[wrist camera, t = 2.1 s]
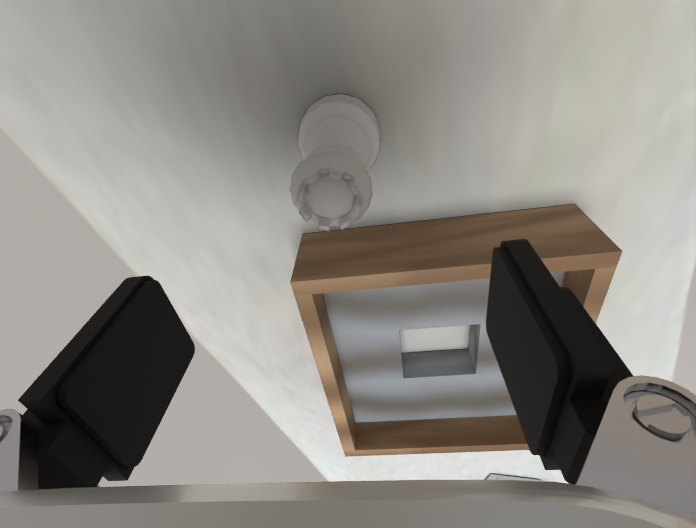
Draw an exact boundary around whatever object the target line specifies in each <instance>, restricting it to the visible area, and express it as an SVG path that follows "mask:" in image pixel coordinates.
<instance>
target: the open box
mask: <svg viewBox="0 0 696 528" xmlns="http://www.w3.org/2000/svg"><path fill="white" fill-rule="evenodd" d="M517 239H527V240H528V241H529V243H530V244H531V246H532V247H533V248H534V250H535V251H536V253H537V254H538V256H539V257H540V259H541V260H542V262H543V263H544V264H545V266H546V267H547V269H548V270H549V272H550V273H551V275H552V276H553V278H554V279H555V280H556V282H557V283H558V285H559V286H560V287H567V288H569V289H570V290H571V291H572V292H573V293H574V294H575V296H576V297H577V299H578V300H579V301H580V303H581V304H582V305H583V307H584V308H585V310H586V311H587V312H588V314H589V315H590V317H591V318H592V319H593V321H594V322H595V324H596V321H597V318H598V315H599V313H600V310H601V307H602V305H603V302H604V299H605V296H606V294H607V291H608V288H609V286H610V283H611V280H612V278H613V275H614V272H615V269H616V267H617V264H618V261H619V259H620V256H621V253H622V250H621V249H620V248H619V247H618V246H617V245H616V244H615V243H614V242H613V241H612V240H611V239H610V238H609V237H608V236H607V235H606V234H605V233H604V232H603V231H602V230H601V229H600V228H599V227H598V226H597V225H596V224H595V223H594V222H593V221H592V220H591V219H590V218H589V217H588V216H587V215H586V214H585V213H584V212H583V211H582V210H581V209H580V208H579V207H578V206H577V205H576V204H571V205H562V206H553V207H544V208H535V209H526V210H517V211H507V212H498V213H489V214H480V215H471V216H462V217H453V218H444V219H434V220H425V221H416V222H407V223H398V224H389V225H380V226H371V227H362V228H352V229H343V230H334V231H325V232H316V233H307V234H302V238H301V242H300V246H299V250H298V254H297V258H296V262H295V266H294V270H293V274H292V278H291V282H290V283H291V286H292V289H293V292H294V296H295V299H296V302H297V305H298V308H299V311H300V315H301V318H302V321H303V324H304V327H305V330H306V334H307V337H308V340H309V343H310V346H311V349H312V353H313V356H314V359H315V362H316V365H317V368H318V372H319V375H320V378H321V381H322V384H323V387H324V391H325V394H326V397H327V400H328V403H329V406H330V410H331V413H332V416H333V419H334V422H335V425H336V429H337V432H338V435H339V438H340V441H341V444H342V448H343V451H344V454H345V456H370V455H397V454H425V453H452V452H480V451H507V450H530V449H529V447H528V444H527V442H526V439H525V436H524V433H523V431H522V428H521V425H520V422H519V420H518V417H517V414H516V411H515V409H514V406H513V403H512V401H511V398H510V395H509V392H508V390H507V387H506V384H505V381H504V379H503V376H502V373H501V371H500V368H499V365H498V362H497V360H496V357H495V354H494V351H493V349H492V346H491V343H490V341H489V338H488V335H487V331H486V314H487V304H488V294H489V284H490V274H491V263H492V253H493V249H494V248H495V247H500V244H501V242H502V241H507V240H517ZM461 325H470V334H469V347H468V349H457V350H442V351H428V352H413V353H401V346H400V335H399V330H409V329H422V328H435V327H448V326H461Z"/></svg>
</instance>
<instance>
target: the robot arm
mask: <svg viewBox="0 0 696 528" xmlns="http://www.w3.org/2000/svg"><path fill="white" fill-rule="evenodd" d="M486 331H487V335H488V338H489V341H490V343H491V346H492V349H493V351H494V354H495V357H496V360H497V362H498V365H499V368H500V371H501V373H502V376H503V379H504V381H505V384H506V387H507V390H508V392H509V395H510V398H511V401H512V403H513V406H514V409H515V411H516V414H517V417H518V420H519V422H520V425H521V428H522V431H523V433H524V436H525V439H526V442H527V444H528V447H529V449H530V451H531V453H532V454H533V455H540V457H541V460H542V463H543V465H544V468H545V470H561V472H562V474H563V477H564V479H565V481H567V482H568V483H570V484H566V483H558V482H542V481H521V480H398V481H341V482H290V483H289V482H288V483H245V484H244V483H243V484H203V485H201V484H200V485H161V486H125V487H99V484H98V483H99V481H100V480H101V478H102V476H103V477H105V479H107V480H108V481H121V480H122V481H123V480H128V478H129V476H130V474H131V473H132V471H133V469H134V467H135V466H137V465H138V464H139V463H140V461H141V460H142V458H143V456H144V454H145V452H146V450H147V448H148V446H149V444H150V442H151V440H152V438H153V436H154V434H155V432H156V430H157V428H158V426H159V424H160V422H161V420H162V418H163V416H164V414H165V412H166V410H167V408H168V406H169V404H170V402H171V400H172V398H173V396H174V394H175V392H176V390H177V387H178V386H179V383H180V382H181V380H182V377H183V376H184V374H185V372H186V370H187V368H188V365H189V363H190V362H191V360H192V358H193V355H194V352H195V347H194V343H193V341H192V339H191V338H190V336H189V334H188V332H187V331H186V329H185V327H184V325H183V324H182V322H181V320H180V318H179V316H178V315H177V313H176V311H175V309H174V308H173V306H172V304H171V302H170V301H169V299H168V297H167V295H166V294H165V292H164V290H163V288H162V287H161V285H160V283H159V282H158V281H156V280H154V279H153V278H152V277H150V276H140V277H130V278H127V279H125V280H124V281H123V282H122V283H121V285H120V286H119V287H118V288H117V289H116V290H115V292H113V294H112V295H111V296H110V297H109V298H108V299H107V300H106V301H105V303H104V304H103V305H102V306H101V307H100V308H99V309H98V310H97V312H96V313H95V314H94V315H93V316H92V317H91V318H90V320H89V321H88V322H87V323H86V324H85V325H84V326H83V327H82V329H81V330H80V331H79V332H78V333H77V334H76V335H75V336H74V338H73V339H72V340H71V341H70V342H69V343H68V344H67V345H66V347H65V348H64V349H63V350H62V351H61V352H60V353H59V354H58V356H57V357H56V358H55V359H54V360H53V361H52V362H51V363H50V365H49V366H48V367H47V368H46V369H45V370H44V371H43V372H42V374H41V375H40V376H39V377H38V378H37V379H36V380H35V381H34V383H33V384H32V385H31V386H30V387H29V388H28V389H27V390H26V392H25V393H24V394H23V395H22V396H21V397H20V398H19V400H18V401H19V402H21V403H22V404H23V405H24V406H25V407H26V408H27V409H28V410H27V411H26V412H25V413H24V414H23V415H21V414H20V413H19V412H17V411H15V410H14V409H5V410H1V411H0V528H696V395H695V394H693V393H692V392H690V391H689V390H687V389H685V388H683V387H681V386H679V385H677V384H675V383H673V382H670V381H667V380H664V379H660V378H657V377H650V376H633V375H632V374H631V372H630V371H629V369H628V368H627V367H626V365H625V364H624V362H623V361H622V360H621V358H620V357H619V355H618V354H617V353H616V351H615V350H614V349H613V347H612V346H611V344H610V343H609V342H608V340H607V339H606V337H605V336H604V335H603V333H602V332H601V330H600V329H599V328H598V326H597V325H596V324H595V322H594V321H593V319H592V318H591V317H590V315H589V314H588V312H587V311H586V310H585V308H584V307H583V305H582V304H581V303H580V301H579V300H578V299H577V297H576V296H575V294H574V293H573V292H572V291H571V290H570V289H569V288H567V287H560V286H559V285H558V283H557V282H556V280H555V279H554V278H553V276H552V275H551V273H550V272H549V270H548V269H547V267H546V266H545V264H544V263H543V262H542V260H541V259H540V257H539V256H538V254H537V253H536V251H535V250H534V248H533V247H532V246H531V244H530V243H529V241H528V240H527V239H517V240H507V241H502V242H501V244H500V247H495V248H494V249H493V253H492V263H491V274H490V284H489V294H488V304H487V314H486Z"/></svg>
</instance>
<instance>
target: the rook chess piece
mask: <svg viewBox="0 0 696 528" xmlns="http://www.w3.org/2000/svg"><path fill="white" fill-rule="evenodd" d="M380 142H381V136H380V126H379V123H378V121H377V119H376V117H375V115H374V113H373V112H372V110H371V109H370V108H369V107H368V106H367V105H365V104H364V103H363V102H362V101H360V100H359V99H358V98H355V97H351V96H347V95H343V94H337V95H331V96H325V97H323V98H321V99H320V100H318V101H317V102H315V103H314V104H312V105H311V106H310V107H309V108H308V110H307V112H306V113H305V115H304V117H303V118H302V120H301V125H300V130H299V136H298V145H299V149H300V153H301V158H302V160H303V161H302V162H301V163H300V164H299V166H298V167H297V169H296V170H295V172H294V173H293V175H292V180H291V187H290V191H291V195H292V198H293V202H294V205H295V206H296V207H297V208H298V210H299V211H300V212H299V213H300V215H301V216H302V217H303V218H304V220H305V221H306V222H308V221H309V220H311V221H312V222H314V223H316V224H318V227H317V229H320V230H324V231H329V230H330V227H336V226H340V228H341V230H343V229H345V228H347V227H348V226H350V225H352V222H353V221H355V220H357V219H359V218H360V217H361V215H362V214H363V213H364V212H365V211H366V210H367V208H368V207H369V204H370V200H371V197H372V186H371V179H370V177H369V175H368V174H367V171H368V170H369V169H370V168H371V166H372V165H373V164H374V163H375V161H376V159H377V155H378V152H379V148H380Z"/></svg>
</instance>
